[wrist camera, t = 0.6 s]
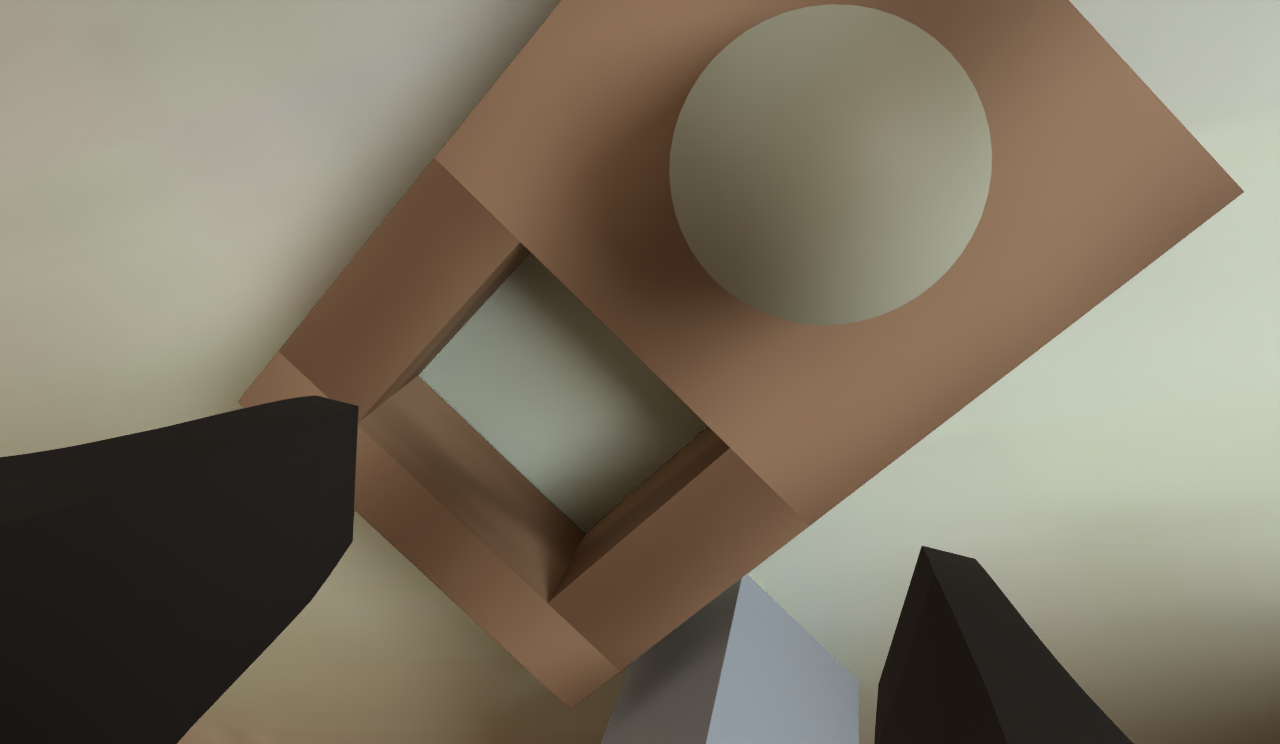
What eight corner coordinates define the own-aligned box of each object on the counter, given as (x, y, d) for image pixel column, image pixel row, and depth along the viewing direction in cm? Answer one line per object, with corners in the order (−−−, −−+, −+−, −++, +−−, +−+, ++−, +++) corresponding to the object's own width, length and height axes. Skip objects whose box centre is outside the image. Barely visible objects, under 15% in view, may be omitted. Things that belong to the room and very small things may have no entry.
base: (1183, 165, 17) (1331, 230, 12) (604, 630, 24) (526, 811, 18) (809, -242, 17) (782, -373, 11) (312, 356, 23) (139, 460, 18)
